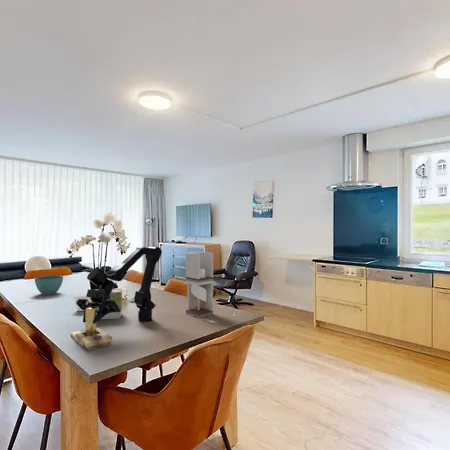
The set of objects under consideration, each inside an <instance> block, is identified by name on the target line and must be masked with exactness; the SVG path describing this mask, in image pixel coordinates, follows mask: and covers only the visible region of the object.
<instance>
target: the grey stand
mask: <svg viewBox="0 0 450 450" xmlns="http://www.w3.org/2000/svg"><path fill="white" fill-rule="evenodd" d="M185 283H186V284H187V297H186V298H187V301H186V302H187V308H186V309H185V314H186V313H187V314H186V315H188V314H190V315H189V316H191V315H193V316H192V317H194V316H196V317H195V318H197V317H200V318H203V317H202V316H204V317H208V316H211V314H212V315H214V252H210V251H209V252H208V251H190V252H188V251H187V252H185ZM207 315H208V316H207Z"/></svg>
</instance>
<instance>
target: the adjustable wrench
mask: <svg viewBox="0 0 450 450" xmlns="http://www.w3.org/2000/svg"><path fill="white" fill-rule="evenodd" d="M128 303H130V304H131V303H135V302H134V297H131V299H128ZM154 304H155V307H156V306H157V304H156V303H154Z"/></svg>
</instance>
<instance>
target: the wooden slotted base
mask: <svg viewBox="0 0 450 450" xmlns="http://www.w3.org/2000/svg"><path fill="white" fill-rule="evenodd" d="M70 337H71V338H72V339H74V340H75V341H76V343H78V344H79V345H80V346H81V347H84V348H85V349H86V350H87V351H92V350H96V349H101V348H104V347H108V346H111V345H112V341H113V337H112V336H111V335H110V334H108V333H107V332H106V331H104V330H102V329H101V328H99V327H96V335H92V336H87V337H85V329H82V330H78V331H74V332H70Z"/></svg>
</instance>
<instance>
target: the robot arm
mask: <svg viewBox="0 0 450 450" xmlns="http://www.w3.org/2000/svg"><path fill="white" fill-rule="evenodd" d="M162 253H163V252H162V249H161V247H159V246H148V247H145V246H137V247H136V249H135V250H134V251H132V252H131V253H130V254H129V255H128V256H127V257H126V258H125V259H124V260H123V261H122V262H121V263H119V264H117V265H115V266H113V267H112V268H110V269H109V270H108V271H105V272H104V271H103V270H102V269H101V268H100V267H96V268H95V269H93V270H92V271H90V272H88V274H87V276H86V279H87V280H88V281H89V282H90V283H92V285H94V286H96V287H99V288H98V289H99V290H96V289H87V292H86V293H87V295H86V297H90V300H91V301H92V302H89V301H88V300H87V299H78V300H77V302H76V303H75V305H76V304H77V305H78V306H79V307H80V308H81V309H82V310H84V311H83V318H82V322H83V323H84V324H85V317H86V308H88V307H99V311H98V313H97V315H96V317H95V319H94V322H93V323H94V324H95V323H96V324H97V323H98V322H99V321H100V320H102V319H101V318H103V317H104V316H105V315H107V314H108V313H110V310H111V312H118V309H119V306H118V305H117V303H116V302H115V301H112V300H108V299H110V298H111V297H110V294H111V292H112V290H113V289H119V286H118V283H117V282H121V281H123V280H124V279H125V277H126V276H127V274H128V272H129V270H130V268H132V267H133V266H134V265H135V264H136V263H137V262H138V261H139V260H140V259H141V258H142V257H143V256H144V255H145V260H146V263H145V268H144V272H143V277H142V280H141V286H140V288H139V290H138V291H137V290H136V291H135V292H134V297H133V298H134V302H135V306H136V307H137V309H138V311H137V319H138V321H139V323H142V322H143V323H144V322H151V321H153V309H154V308H155V307H156V306H155V304H156V303H154V302H153V301H152V293H151V287H152V283H153V279H154V278H153V277H154V274H155V270H156V265H157V263H158V262H159V261H160V259H161V256H162Z"/></svg>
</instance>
